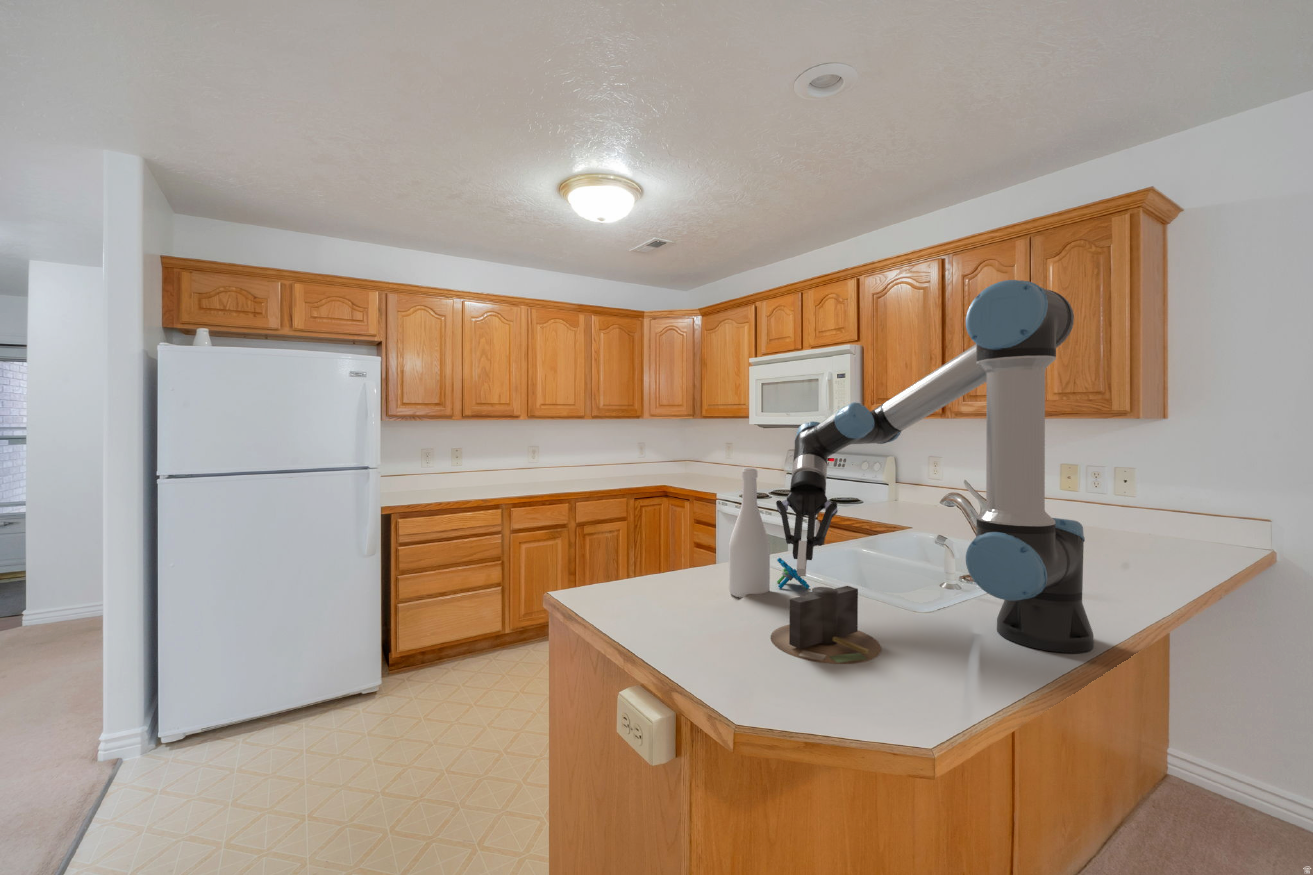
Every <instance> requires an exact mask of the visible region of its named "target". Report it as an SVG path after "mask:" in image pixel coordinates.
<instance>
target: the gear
mask: <svg viewBox="0 0 1313 875" xmlns="http://www.w3.org/2000/svg"><path fill="white" fill-rule="evenodd" d="M776 561H777V562H778V563H779V564H780V566H781V567H782V568H783V569H782V571H783V572H782V573H781V574H782V575H781V577H779V579H778V580H777V581H776V582H777V584H778V585H777V587H778V588H779V589H780V590H781V589H783V588H784V587H785V585H787V583H788V582H789V581H790V582H791V581H792V580H793V579H794V580H796V581H797V582H798V583H799V584H800V585H801V586H802V587H804V588H805V589H806V590H808V589H809V588H810V587H811V586H810V585H809V583H807V581H806V580H805V579H804V578H802V576H798V573H797V568H793V567H792V566H790V565H789V564H788V563H787V562H786V561H785V560H784V559H782V558H781V557H778V558H777V559H776Z"/></svg>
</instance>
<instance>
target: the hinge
mask: <svg viewBox="0 0 1313 875" xmlns="http://www.w3.org/2000/svg"><path fill="white" fill-rule="evenodd" d="M858 611H859V589H858V588H856V587H853V586H850V585H844V586H839V587H836V588H832V587H828V586H816V587H813V588H812V589H811V593H809V594H805V595H800V596H798V597H797V596H796V597H793V598H790V599H789V624H788V625H789V645H792V646H794V647H796V648H798V649H802V648H805V647H808V646H812V645H815V644H822V645H833V644H836V643H839V644H842V645H844V646H847V647H849V648H852V649H854V650H856V651H859V652H861V653H864V654H867V653H868V649H866V648H863V647H861V646H858V645H856V644H853V643H851V642H848V641H846V640H843V639H841V638H839V637H842V636H845V635H849V634H852V633H855V632H858V631H859V630H858V626H859V624H858V619H859V618H858V615H859V614H858V613H859V612H858Z"/></svg>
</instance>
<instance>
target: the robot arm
mask: <svg viewBox="0 0 1313 875" xmlns="http://www.w3.org/2000/svg"><path fill="white" fill-rule="evenodd" d="M965 315H966V316H965V328H966V332H967V334H968V336H969V337H970V339H971V340H972V341H973V342H974V343H975V344H974V345H972V346H971V347H969V348H967V349H966V350H964V351H963V352H961V353H960V354H958V355H957V356H955V357H953V358H952V359H950V360H948V361H947V362H946V363H944V364H942V365H941V366H940V367H938V368H936V369H934V370H933V371H932V372H931V373H929V374H927V375H926V376H923V377H922V378H921V379H919V380H917V381H916V382H914V383H913V384H911V385H910V386H908V387H906V388H905V389H904V390H901V391H900V392H899V393H897V394H896V395H894V396H892V397H891V398H890V399H888V400H887V401H884V403H882V404H880V405H879V406H877V407H875V408H874V409H872V410H869V409H868V408H867V407H866V406H865V405H862V404H861V403H860V402H851V403H848V404H847V405H845V406H843V407H841V408H839V409H838V410H837V411H836V412H834V413H833V414H831V415H830V416H829V417H827V418H826V419H824V420H823V421H821V422H819V421H810V422H804V423H802V424H801V425H799V427H798V428H797V431H796V435H795V439H794V451H793V462H792V467H791V468H792V470H791V481H790V489H789V494H788V495H787V496H786V499H785V500H783V501H781V500H776V501H775V504H776V509H777V510H776V511H778V513H779V514H780V517H781V522H782V528H783V533H784V537H785V542H786V544H787V545H792V557H793V558H792V559H794V560H796V561H797V564H796V570H797V573H798V576H801V577H806V576H807V566H808V565H807V564H808V562H807V561H812V560H813V558H814V557H813V556H814V547H816V546H818V547H819V546H820V547H821V546H823V545H824V542H825V539H826V536H827V534H828V530H829V529H830V526H831V523H832V520H833V518H834V516H836V514H837V513H838V510H839V509H838V503H837V502H836V501H833V502H831V501H829V500H828V497H827V496H826V492H827V491H826V489H827V469H828V458H829V457H831V456H832V455H834V454H836V453H837V452H839V451H841V450H842V449H844V448H846V447H848V446H850V445H867V444H880V445H882V444H887V443H892V442H894V441H895V440H897V439H898V438H899V437H900V435H901V433H902V431H904V430H906V429H908V428H910V427H911V426H913V425H914V424H916V423H918V422H920V421H921V420H923V419H925V418H926V417H928V416H930V415H932V414H934V413H936V412H937V411H939V410H940V409H942V408H944V407H946V406H948V405H949V404H951V403H952V402H955V401H956V400H958V399H960V398H961V397H963V396H965V395H967V394H968V393H971V392H972V391H973V390H975V389H976V388H979V387H980V386H982V385H984V384H985V383H986V413H985V414H986V416H985V417H986V418H985V419H986V420H985V421H986V424H985V425H986V429H985V430H986V432H985V433H986V447H985V448H986V463H985V464H986V468H985V469H986V470H985V471H986V472H985V475H986V476H985V477H986V478H985V479H986V481H985V482H986V487H985V488H986V491H985V492H986V493H985V494H986V495H985V496H986V498H985V500H986V502H985V503H986V504H985V505H986V507H984V509H983V510H982V511H981V512H980V513H978V514H977V515H976V537H975V538H974V539H973V540H972V541H971V542H970V544H969V545H968V547H967V549H966V553H965V565H966V569H967V572H968V574H969V576H970V578H971V579H972V580H973V582H974V583H975V584H976V585H977V586H978V587H979V588H980V589H981V590H983V592H985V593H987V594H988V595H990V596H992V597H995V598H997V599H1000V600H1004V601H1003V603H1002V605H1001V607H1000V611H999V612H998V614H997V618H996V632H997V633H998V634H999V635H1000V636H1002V637H1003V638H1005V639H1007V640H1009V641H1011V642H1013V643H1015V644H1019V645H1023V646H1024V647H1025V646H1026V647H1029V648H1033V649H1037V650H1042V651H1046V652H1047V651H1049V652H1054V653H1065V654H1066V653H1067V654H1071V653H1073V654H1077V653H1078V654H1079V653H1085V652H1088V651H1091V650H1093V648H1094V639H1095V638H1094V632H1093V628H1092V627H1091V624H1090V620H1089V618H1088V615H1087V613H1086V610H1085V606H1084V604H1083V590H1084V588H1083V584H1084V583H1083V581H1084V580H1083V579H1084V545H1085V543H1084V542H1085V540H1086V538H1085V535H1084V527H1083V524H1082V523H1081V522H1079V521H1077V520H1074V519H1067V518H1057V517H1052V516H1051V515H1049V514H1048V513H1047V512H1046V510H1045V508H1046V507H1045V505H1046V504H1045V497H1046V496H1045V493H1046V492H1045V491H1046V490H1045V489H1046V485H1045V484H1046V482H1045V480H1046V479H1045V478H1046V476H1045V475H1046V471H1045V469H1046V468H1045V465H1046V462H1045V461H1046V460H1045V459H1046V458H1045V457H1046V456H1045V455H1046V448H1045V446H1046V440H1045V439H1046V437H1045V436H1046V434H1045V433H1046V411H1045V410H1046V369H1047V368H1048V367H1049V366H1050V365H1051V364H1052V363H1054V362H1055V361H1056V360H1057V348H1058V347H1060V346H1061V345H1063V343H1064V342H1065V341H1066V340H1067V338H1068V337H1069V336H1070V334H1071V332H1072V330H1073V328H1074V321H1075V314H1074V309H1073V307H1072V305H1071V303H1070V301H1068V299H1067V298H1065V297H1064V296H1063V295H1061V293H1058V292H1056V291H1054V290H1050V289H1047V288H1044V287H1042V286H1039V285H1038V284H1037V283H1035V282H1031V281H1029V280H1018V279H1008V280H1007V279H1006V280H1002V281H998V282H996V283H993V284H991V285H988V286H987V287H986V288H984V289H983V290H981V292H980V293H978V295H977V296H975V297H974V299H973V300H972V301H971V303H970V305H969V307H968V309H967V312H966V314H965ZM789 507H790V509H792V510H791V511H793V513H795V519H794V520H795V521H794V529H793V534H791V533H792V532H791V529H790V528H791V527H790V521H789V518H788V510H789ZM823 509H824V510H825V511H824V513H823V516H822V519H821V522H820V524H819V527H818V530H817V533H816V535H815V532H816V530H815V529H816V521H817V520H816V519H817V515H818V514H819V513H820V512H822V510H823ZM806 516H807V517H808V519H807V531H806V540H802V532H803V523H804V522H803V521H804V517H806Z"/></svg>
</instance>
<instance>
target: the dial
mask: <svg viewBox="0 0 1313 875" xmlns="http://www.w3.org/2000/svg"><path fill="white" fill-rule="evenodd" d="M839 638H841V639H843V640H846V641H848V642H851V643H853V644H856V645H858V646H861V647H863V648H866V649H868V653H867V654H864V653H861V652H859V651H856V650H854V649H852V648H849V647H847V646H844V645H842V644H839V643H836V644H833V645H822V644H815V645H812V646H808V647H805V648H802V649H798V648H796V647H794V646H792V645H789V624H785V625H782V626H780V627H777V628H776V629H774V630H773V631H772V632H771V634H770V641H771V643H772V645H773V646H775V647H776V648H777V649H778V650H780V651H782V652H783V653H785V654H787V655H790V656H793V657H795V658H798V659H802V660H806V661H810V662H814V663H815V662H816V663H820V664H821V663H822V664H831V665H850V664H851V665H853V664H858V663H859V664H860V663H865V662H868V661H871V660H874V659H875V658H877V657H878V656H880V654H881V652H882V646H881V644H880V643H879V641H878V640H877V639H876V638H874V637H873V636H871V635H869V634H867V633H866V632H863V631H860V630H858V632H855V633H852V634H849V635H845V636H842V637H839Z"/></svg>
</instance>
